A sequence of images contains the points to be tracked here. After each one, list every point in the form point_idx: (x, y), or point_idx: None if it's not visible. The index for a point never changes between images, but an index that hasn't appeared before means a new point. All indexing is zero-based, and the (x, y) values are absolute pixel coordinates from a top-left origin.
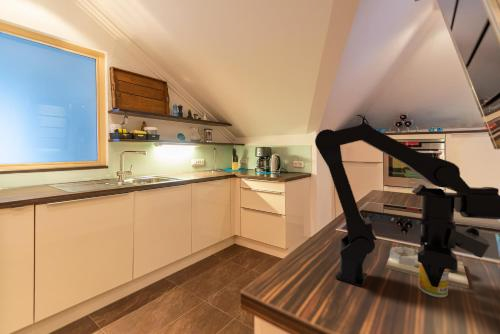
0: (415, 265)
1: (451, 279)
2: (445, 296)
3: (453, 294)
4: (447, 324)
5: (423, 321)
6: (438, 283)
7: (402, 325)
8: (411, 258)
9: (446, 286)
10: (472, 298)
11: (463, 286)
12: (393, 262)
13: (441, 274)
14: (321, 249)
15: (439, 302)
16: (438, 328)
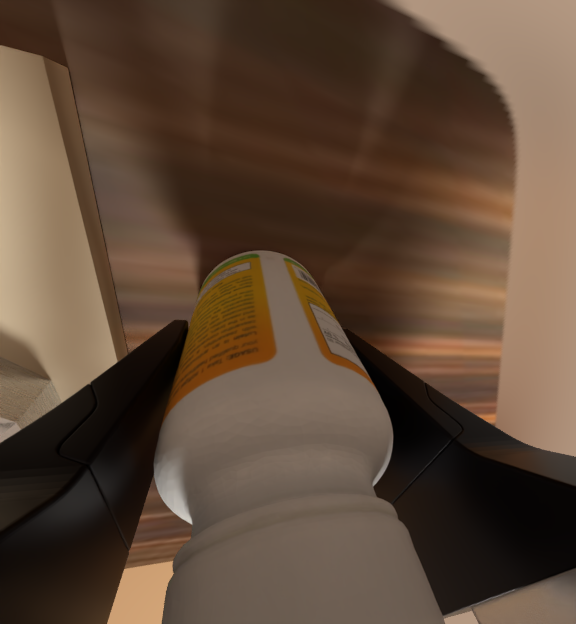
0: (34, 384)
1: (51, 196)
2: (299, 263)
3: (241, 214)
4: (484, 285)
5: (471, 340)
6: (369, 346)
7: (486, 375)
8: (2, 434)
9: (312, 287)
10: (230, 98)
11: (71, 110)
12: None
13: (441, 398)
14: (152, 544)
15: (352, 289)
16: (501, 310)
